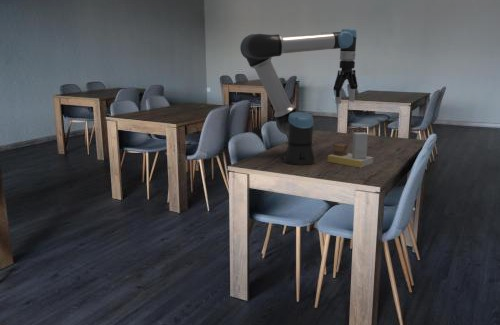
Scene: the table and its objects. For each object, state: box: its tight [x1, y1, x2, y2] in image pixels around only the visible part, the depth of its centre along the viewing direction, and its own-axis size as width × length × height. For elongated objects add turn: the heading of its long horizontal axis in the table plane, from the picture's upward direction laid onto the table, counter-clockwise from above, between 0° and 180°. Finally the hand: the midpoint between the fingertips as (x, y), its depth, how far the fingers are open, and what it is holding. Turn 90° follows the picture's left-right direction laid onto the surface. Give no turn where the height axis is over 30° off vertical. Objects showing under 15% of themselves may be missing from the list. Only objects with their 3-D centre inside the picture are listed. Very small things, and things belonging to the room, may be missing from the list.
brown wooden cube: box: [332, 143, 349, 156], centre depth 226 cm, size 5×5×5 cm
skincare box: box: [351, 132, 369, 159], centre depth 218 cm, size 6×4×12 cm
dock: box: [327, 152, 374, 168], centre depth 223 cm, size 12×18×3 cm, turn 49°
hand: (345, 102), depth 238 cm, fingers open, 13 cm apart
